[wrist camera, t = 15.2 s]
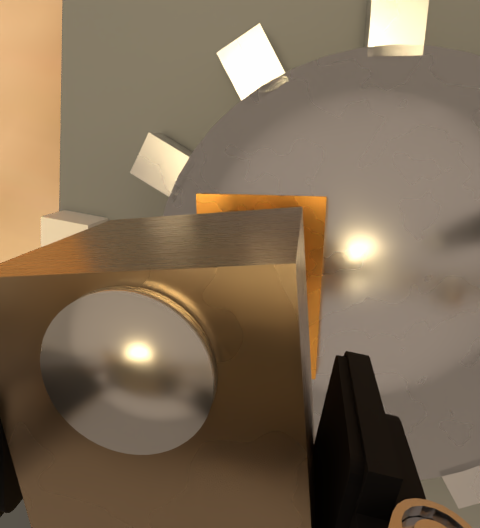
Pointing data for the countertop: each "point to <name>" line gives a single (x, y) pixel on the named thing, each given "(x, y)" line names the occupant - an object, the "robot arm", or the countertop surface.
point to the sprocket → (365, 213)
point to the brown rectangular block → (162, 374)
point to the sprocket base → (189, 94)
